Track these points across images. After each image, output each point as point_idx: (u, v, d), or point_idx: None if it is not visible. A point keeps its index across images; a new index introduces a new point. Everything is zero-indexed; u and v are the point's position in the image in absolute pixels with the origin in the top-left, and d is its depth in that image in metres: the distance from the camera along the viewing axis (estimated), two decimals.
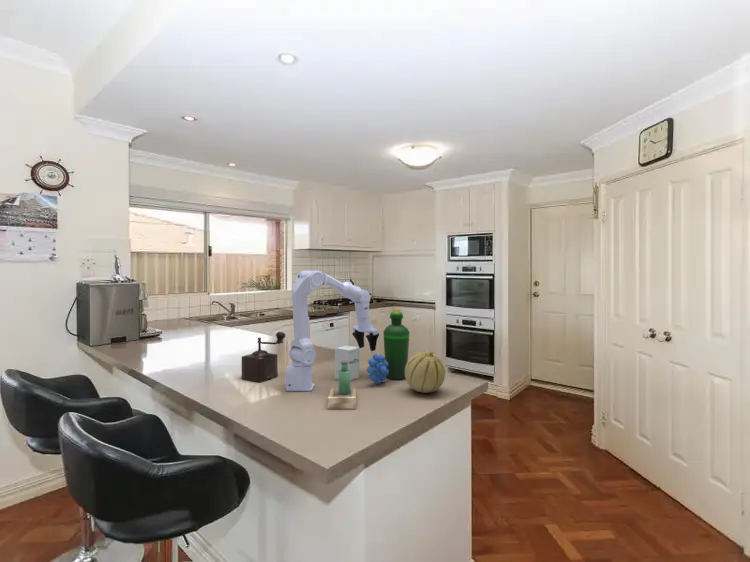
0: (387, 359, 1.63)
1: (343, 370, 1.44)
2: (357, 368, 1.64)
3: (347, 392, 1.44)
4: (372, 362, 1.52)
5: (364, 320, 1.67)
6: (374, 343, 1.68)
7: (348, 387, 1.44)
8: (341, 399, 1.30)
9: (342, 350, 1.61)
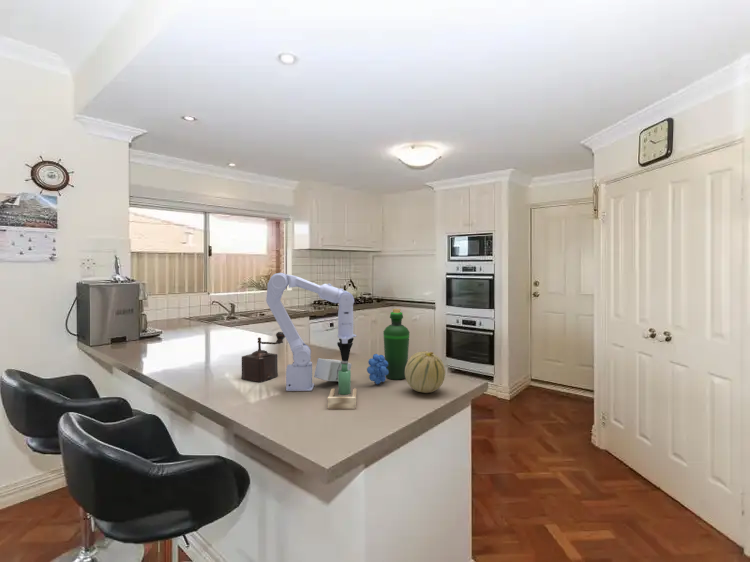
0: (387, 359, 1.63)
1: (343, 370, 1.44)
2: None
3: (347, 392, 1.44)
4: (372, 362, 1.52)
5: (341, 325, 1.51)
6: (346, 354, 1.49)
7: (348, 387, 1.44)
8: (341, 399, 1.30)
9: None
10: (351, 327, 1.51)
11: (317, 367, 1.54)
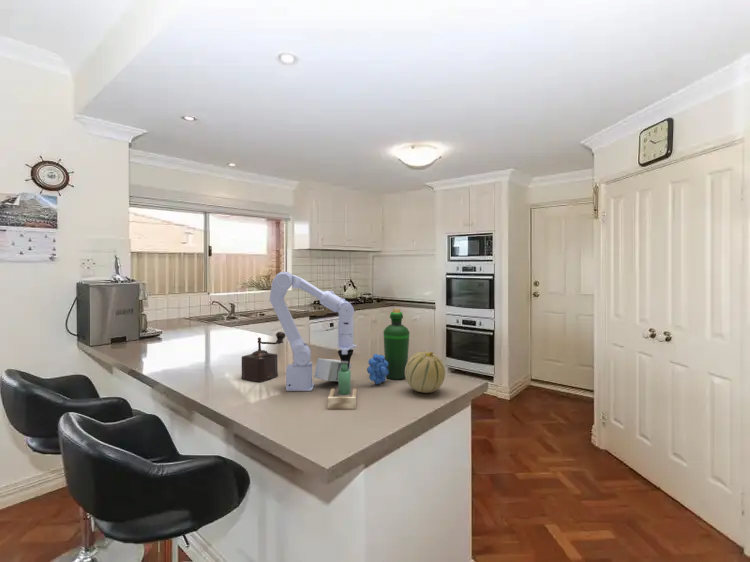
0: (387, 359, 1.63)
1: (343, 370, 1.44)
2: None
3: (347, 392, 1.44)
4: (372, 362, 1.52)
5: (341, 336, 1.51)
6: None
7: (348, 387, 1.44)
8: (341, 399, 1.30)
9: None
10: (351, 338, 1.51)
11: (317, 367, 1.54)
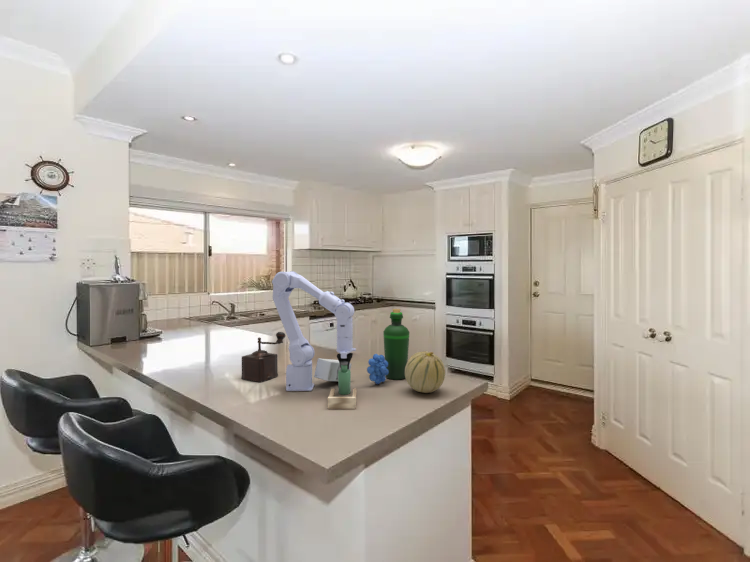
0: (387, 359, 1.63)
1: (343, 371, 1.43)
2: None
3: (347, 392, 1.44)
4: (372, 362, 1.52)
5: (340, 339, 1.45)
6: None
7: (348, 387, 1.44)
8: (341, 399, 1.30)
9: None
10: (350, 341, 1.45)
11: (317, 367, 1.54)
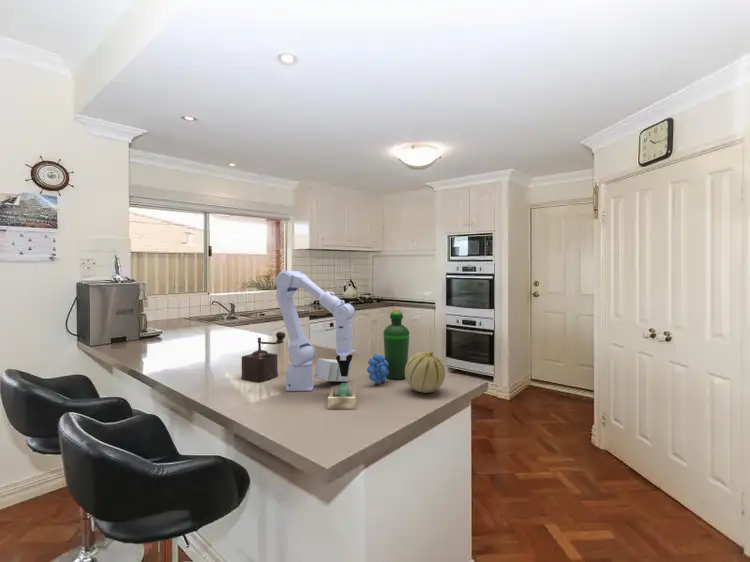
0: (387, 359, 1.63)
1: None
2: None
3: None
4: (372, 362, 1.52)
5: (339, 340, 1.42)
6: (346, 368, 1.44)
7: None
8: (341, 399, 1.30)
9: None
10: (350, 342, 1.42)
11: (317, 367, 1.54)
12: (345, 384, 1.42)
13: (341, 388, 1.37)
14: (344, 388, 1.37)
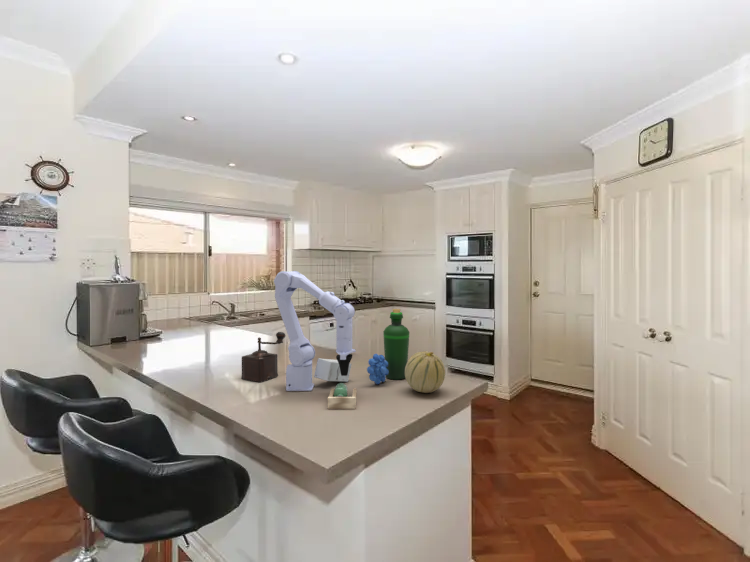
0: (387, 359, 1.63)
1: None
2: None
3: None
4: (372, 362, 1.52)
5: (339, 340, 1.43)
6: (346, 367, 1.45)
7: None
8: (341, 399, 1.30)
9: None
10: (350, 342, 1.44)
11: (317, 367, 1.54)
12: (339, 384, 1.42)
13: (335, 390, 1.37)
14: (338, 388, 1.37)
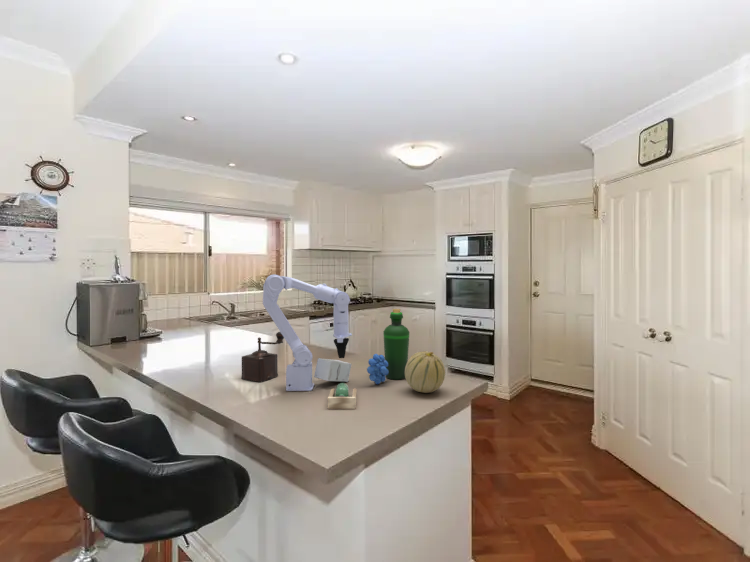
0: (387, 359, 1.63)
1: None
2: (344, 367, 1.57)
3: None
4: (372, 362, 1.52)
5: (336, 325, 1.52)
6: (343, 350, 1.55)
7: None
8: (341, 399, 1.30)
9: None
10: (346, 326, 1.53)
11: (317, 367, 1.54)
12: (342, 384, 1.42)
13: (338, 389, 1.37)
14: (340, 388, 1.37)
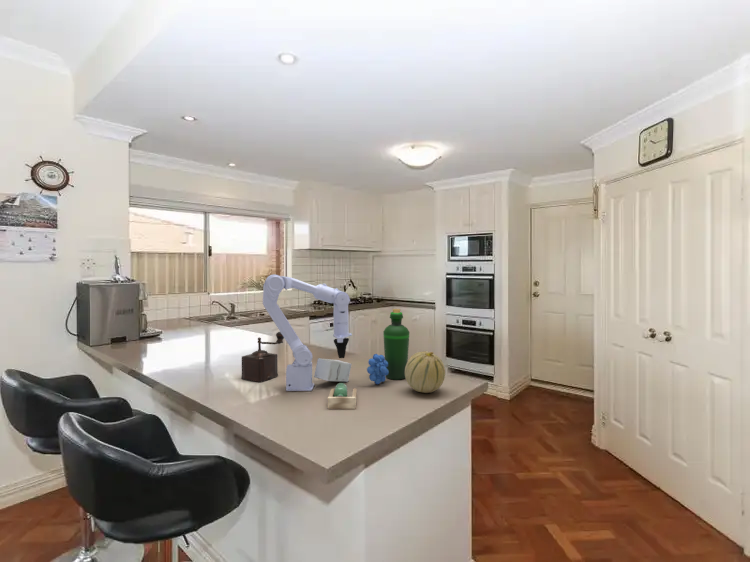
0: (387, 359, 1.63)
1: None
2: (344, 367, 1.57)
3: None
4: (372, 362, 1.52)
5: (336, 325, 1.52)
6: (343, 350, 1.55)
7: None
8: (341, 399, 1.30)
9: None
10: (346, 326, 1.53)
11: (317, 367, 1.54)
12: (339, 384, 1.42)
13: (335, 390, 1.37)
14: (338, 388, 1.37)
